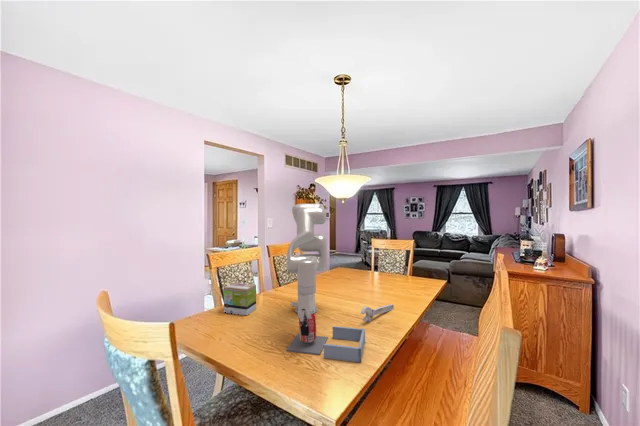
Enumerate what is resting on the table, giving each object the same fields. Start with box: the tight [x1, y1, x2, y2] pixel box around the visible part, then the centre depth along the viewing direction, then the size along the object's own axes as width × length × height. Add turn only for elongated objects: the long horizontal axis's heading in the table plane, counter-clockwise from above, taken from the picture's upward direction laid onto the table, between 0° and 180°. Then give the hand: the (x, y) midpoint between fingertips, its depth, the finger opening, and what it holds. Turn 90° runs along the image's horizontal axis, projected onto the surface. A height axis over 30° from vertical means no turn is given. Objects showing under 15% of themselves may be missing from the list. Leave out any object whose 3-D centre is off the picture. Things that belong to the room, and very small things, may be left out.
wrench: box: [360, 303, 395, 323], centre depth 141 cm, size 8×2×30 cm
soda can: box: [298, 311, 317, 343], centre depth 113 cm, size 7×7×12 cm
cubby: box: [323, 325, 366, 364], centre depth 109 cm, size 14×17×5 cm
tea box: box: [223, 282, 257, 316], centre depth 151 cm, size 15×10×15 cm
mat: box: [285, 333, 329, 356], centre depth 113 cm, size 14×14×1 cm
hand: (307, 330), depth 113 cm, fingers closed on soda can, 7 cm apart
